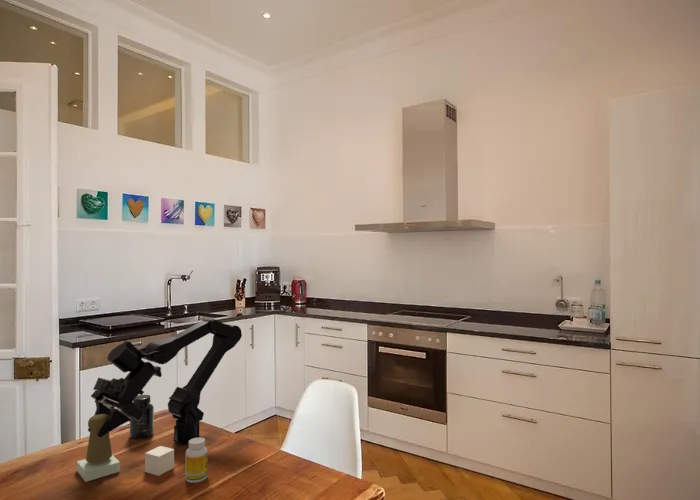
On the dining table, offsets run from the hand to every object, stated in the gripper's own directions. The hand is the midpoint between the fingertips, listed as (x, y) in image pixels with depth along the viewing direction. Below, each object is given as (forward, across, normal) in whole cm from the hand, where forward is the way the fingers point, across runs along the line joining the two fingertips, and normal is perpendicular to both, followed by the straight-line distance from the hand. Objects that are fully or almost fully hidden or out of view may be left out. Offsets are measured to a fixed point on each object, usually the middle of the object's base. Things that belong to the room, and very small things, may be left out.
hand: (93, 433), depth 119 cm
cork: (+4, 0, +6) cm, 7 cm away
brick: (-1, +12, +15) cm, 19 cm away
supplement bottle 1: (-7, -14, +22) cm, 27 cm away
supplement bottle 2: (-3, +23, +18) cm, 30 cm away
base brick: (+6, 0, +8) cm, 10 cm away
